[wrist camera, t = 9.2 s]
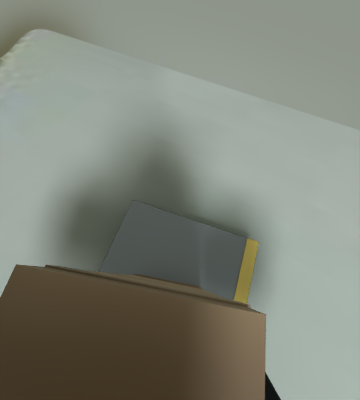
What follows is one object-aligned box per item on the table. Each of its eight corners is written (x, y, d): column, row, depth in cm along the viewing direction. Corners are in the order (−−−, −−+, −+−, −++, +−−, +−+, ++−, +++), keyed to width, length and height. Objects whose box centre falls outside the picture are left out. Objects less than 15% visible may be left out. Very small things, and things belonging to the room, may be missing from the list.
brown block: (189, 365, 14) (268, 957, 2) (118, 349, 14) (-231, 763, 2) (199, 286, 16) (271, 310, 4) (136, 273, 16) (13, 258, 4)
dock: (203, 471, 13) (207, 504, 11) (49, 396, 15) (29, 414, 13) (250, 245, 19) (258, 242, 17) (136, 206, 20) (132, 199, 18)
